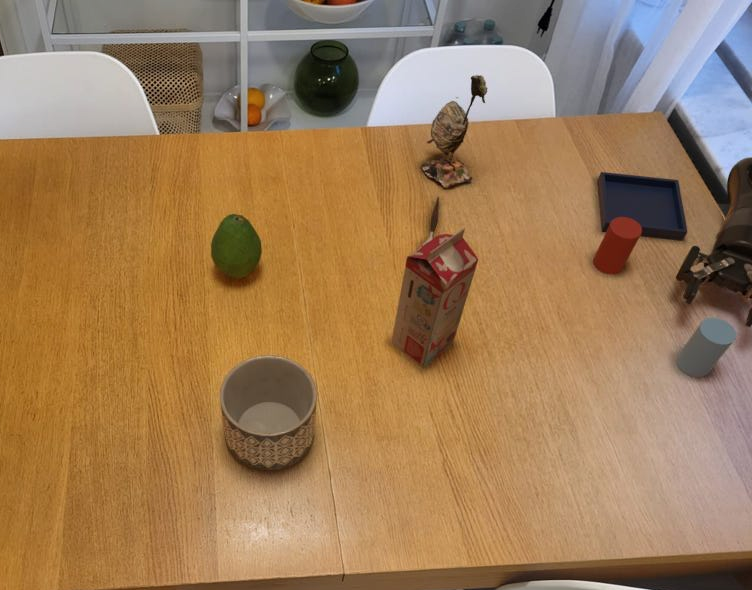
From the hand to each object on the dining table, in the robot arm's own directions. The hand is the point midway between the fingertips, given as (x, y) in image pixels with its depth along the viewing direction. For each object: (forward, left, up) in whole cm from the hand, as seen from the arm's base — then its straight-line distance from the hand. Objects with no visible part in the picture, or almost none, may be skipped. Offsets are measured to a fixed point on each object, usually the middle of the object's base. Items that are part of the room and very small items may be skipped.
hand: (720, 311), depth 110 cm
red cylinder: (+13, -13, -6) cm, 20 cm away
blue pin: (+2, +6, -6) cm, 8 cm away
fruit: (+73, -1, -6) cm, 73 cm away
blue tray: (+7, -27, -6) cm, 29 cm away
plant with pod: (+41, -32, -6) cm, 53 cm away
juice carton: (+42, +9, -6) cm, 43 cm away
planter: (+62, +29, -6) cm, 68 cm away
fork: (+42, -16, -6) cm, 45 cm away
